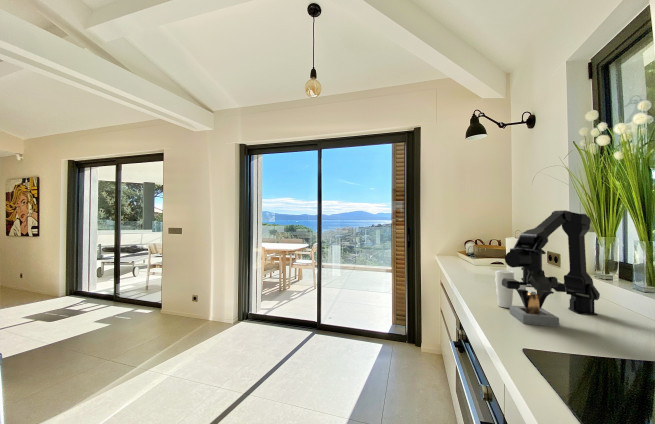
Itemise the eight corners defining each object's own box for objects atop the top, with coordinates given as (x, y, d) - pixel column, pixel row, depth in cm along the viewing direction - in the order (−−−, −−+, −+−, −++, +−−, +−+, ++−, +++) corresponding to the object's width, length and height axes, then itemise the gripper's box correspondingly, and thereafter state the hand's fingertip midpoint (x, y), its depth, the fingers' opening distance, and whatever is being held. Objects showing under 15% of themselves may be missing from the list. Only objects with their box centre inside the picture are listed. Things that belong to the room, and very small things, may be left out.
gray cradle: (541, 315, 103) (541, 307, 103) (559, 326, 93) (559, 317, 93) (509, 312, 106) (509, 305, 106) (523, 323, 95) (523, 315, 95)
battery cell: (536, 312, 101) (535, 291, 101) (542, 316, 97) (541, 293, 97) (524, 311, 102) (523, 290, 102) (529, 315, 98) (529, 293, 98)
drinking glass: (517, 309, 110) (517, 273, 110) (499, 308, 111) (499, 272, 111) (509, 304, 116) (509, 270, 117) (492, 303, 118) (492, 269, 118)
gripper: (513, 268, 94) (514, 313, 94) (576, 271, 90) (577, 318, 89) (501, 263, 105) (501, 303, 104) (556, 265, 101) (556, 307, 100)
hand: (532, 308), depth 99 cm, fingers closed on battery cell, 4 cm apart
